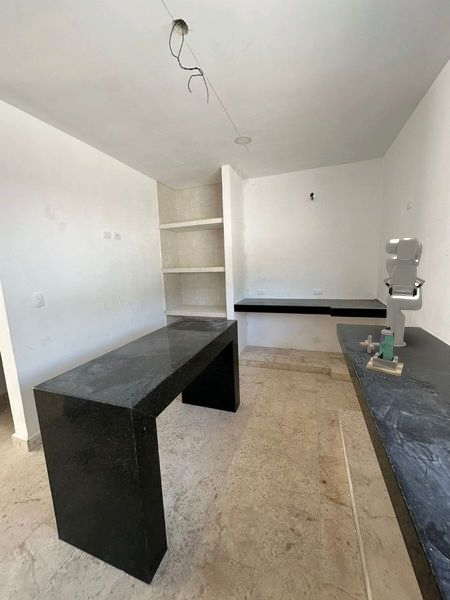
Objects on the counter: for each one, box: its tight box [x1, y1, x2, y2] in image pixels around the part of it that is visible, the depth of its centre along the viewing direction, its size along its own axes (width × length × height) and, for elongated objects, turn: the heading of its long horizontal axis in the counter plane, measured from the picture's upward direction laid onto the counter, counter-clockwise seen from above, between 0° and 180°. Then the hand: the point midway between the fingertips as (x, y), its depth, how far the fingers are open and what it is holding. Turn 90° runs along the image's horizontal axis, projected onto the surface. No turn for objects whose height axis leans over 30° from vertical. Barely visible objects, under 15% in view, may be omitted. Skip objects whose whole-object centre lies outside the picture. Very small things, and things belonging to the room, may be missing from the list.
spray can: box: [378, 325, 394, 361], centre depth 121 cm, size 6×6×20 cm
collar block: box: [365, 352, 405, 377], centre depth 122 cm, size 14×14×5 cm
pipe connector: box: [359, 334, 380, 354], centre depth 140 cm, size 10×10×10 cm
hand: (402, 296), depth 126 cm, fingers open, 9 cm apart
